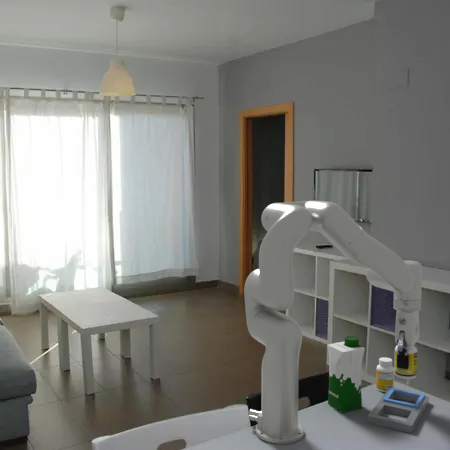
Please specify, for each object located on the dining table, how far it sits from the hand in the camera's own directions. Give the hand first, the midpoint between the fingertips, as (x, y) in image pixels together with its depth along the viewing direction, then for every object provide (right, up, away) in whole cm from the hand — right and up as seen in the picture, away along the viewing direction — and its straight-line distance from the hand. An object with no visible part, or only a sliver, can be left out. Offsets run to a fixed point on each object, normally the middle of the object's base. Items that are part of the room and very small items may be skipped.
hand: (405, 363), depth 162 cm
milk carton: (-18, -13, +1) cm, 22 cm away
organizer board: (-3, -13, -3) cm, 14 cm away
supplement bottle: (-2, -12, +13) cm, 18 cm away
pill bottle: (0, -4, 0) cm, 4 cm away
